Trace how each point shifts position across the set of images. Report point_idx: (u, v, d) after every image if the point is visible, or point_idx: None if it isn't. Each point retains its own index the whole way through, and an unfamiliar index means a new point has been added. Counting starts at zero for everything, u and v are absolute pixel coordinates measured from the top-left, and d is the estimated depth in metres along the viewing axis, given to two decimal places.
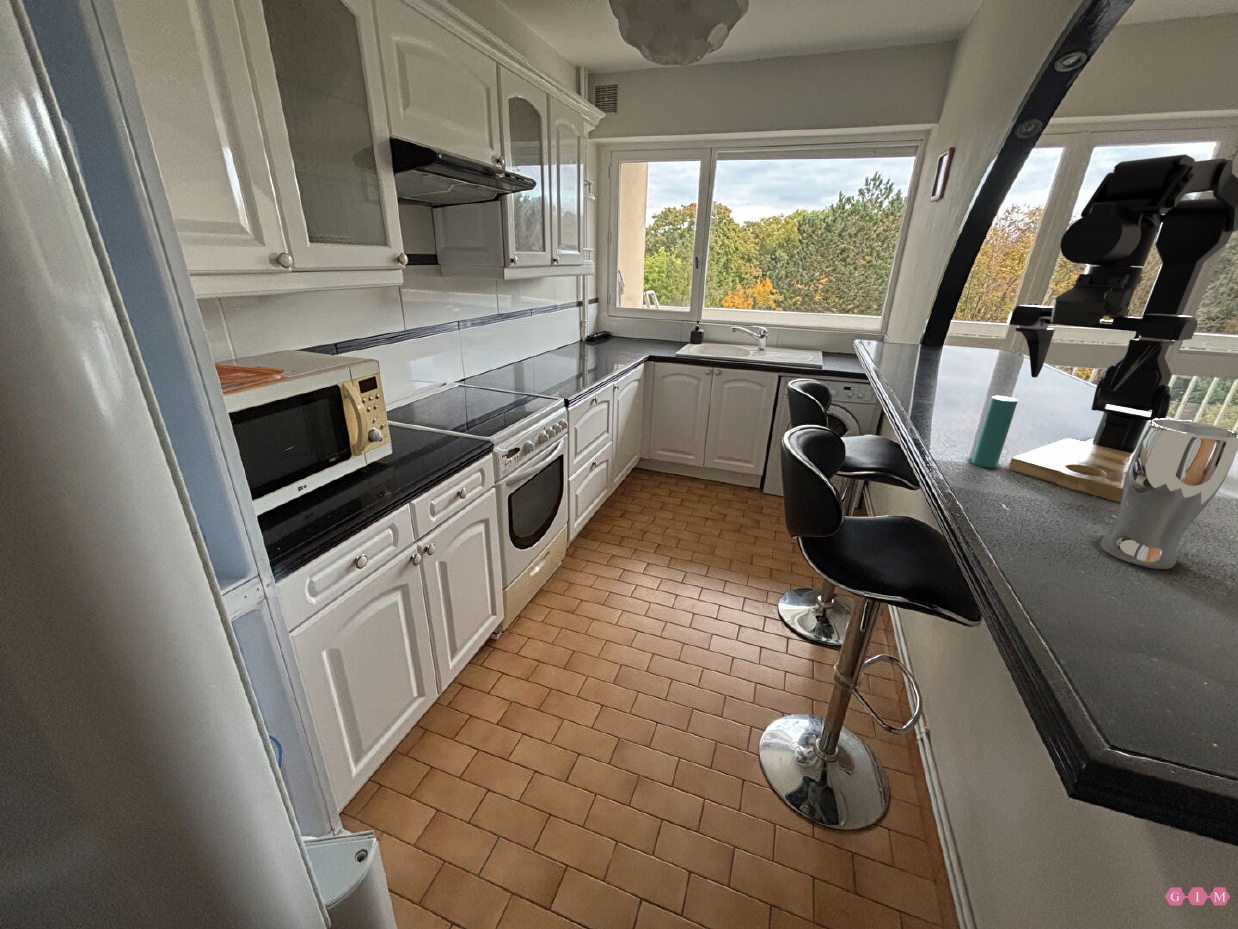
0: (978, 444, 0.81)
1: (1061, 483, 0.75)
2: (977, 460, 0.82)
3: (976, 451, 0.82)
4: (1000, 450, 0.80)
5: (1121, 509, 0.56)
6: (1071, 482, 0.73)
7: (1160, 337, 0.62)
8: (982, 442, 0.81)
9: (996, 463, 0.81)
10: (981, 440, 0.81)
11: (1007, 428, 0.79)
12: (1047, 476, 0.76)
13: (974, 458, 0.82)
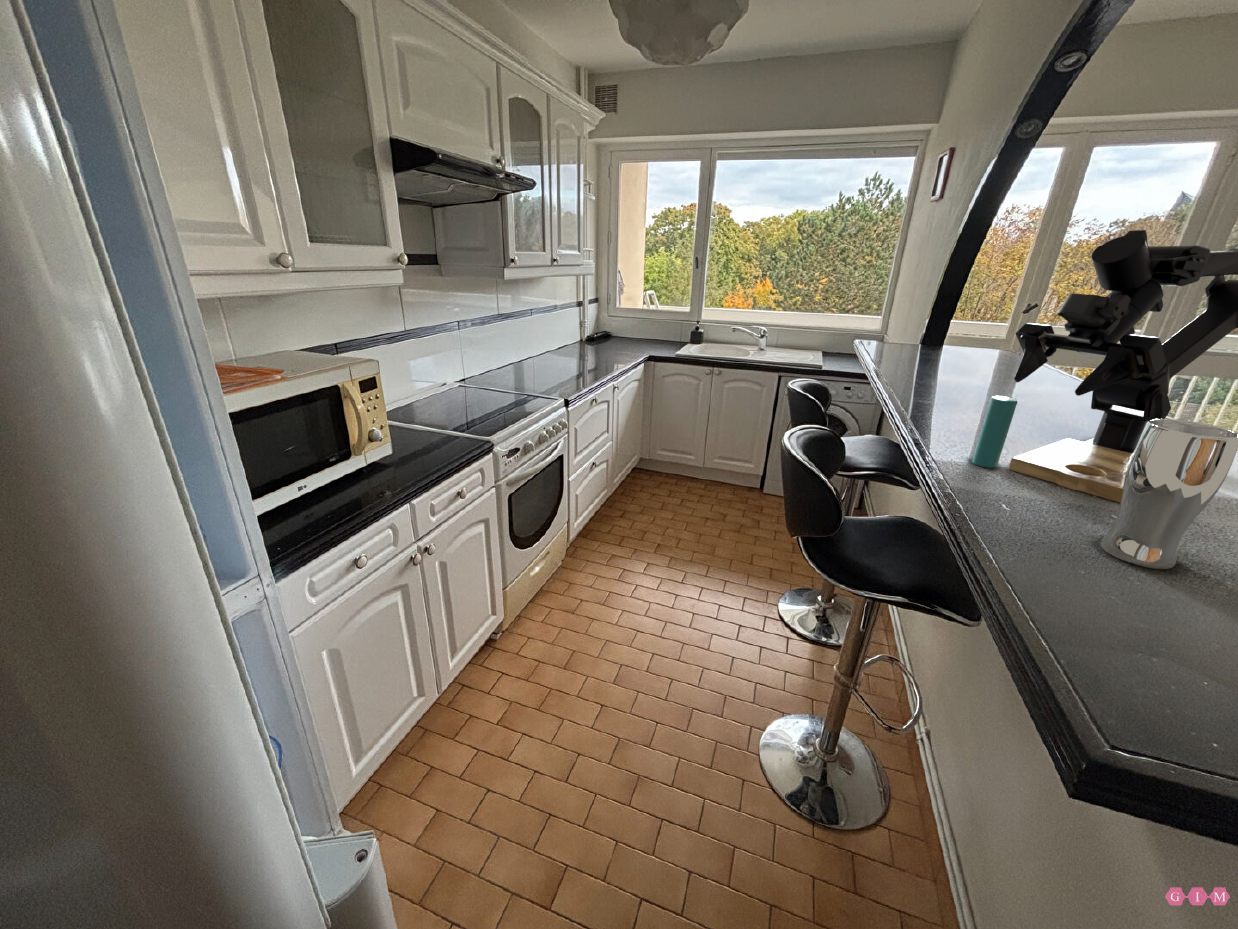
0: (978, 444, 0.81)
1: (1061, 483, 0.75)
2: (977, 460, 0.82)
3: (976, 451, 0.82)
4: (1000, 450, 0.80)
5: (1121, 509, 0.56)
6: (1071, 482, 0.73)
7: (1136, 345, 0.71)
8: (982, 442, 0.81)
9: (996, 463, 0.81)
10: (981, 440, 0.81)
11: (1007, 428, 0.79)
12: (1047, 476, 0.76)
13: (974, 458, 0.82)
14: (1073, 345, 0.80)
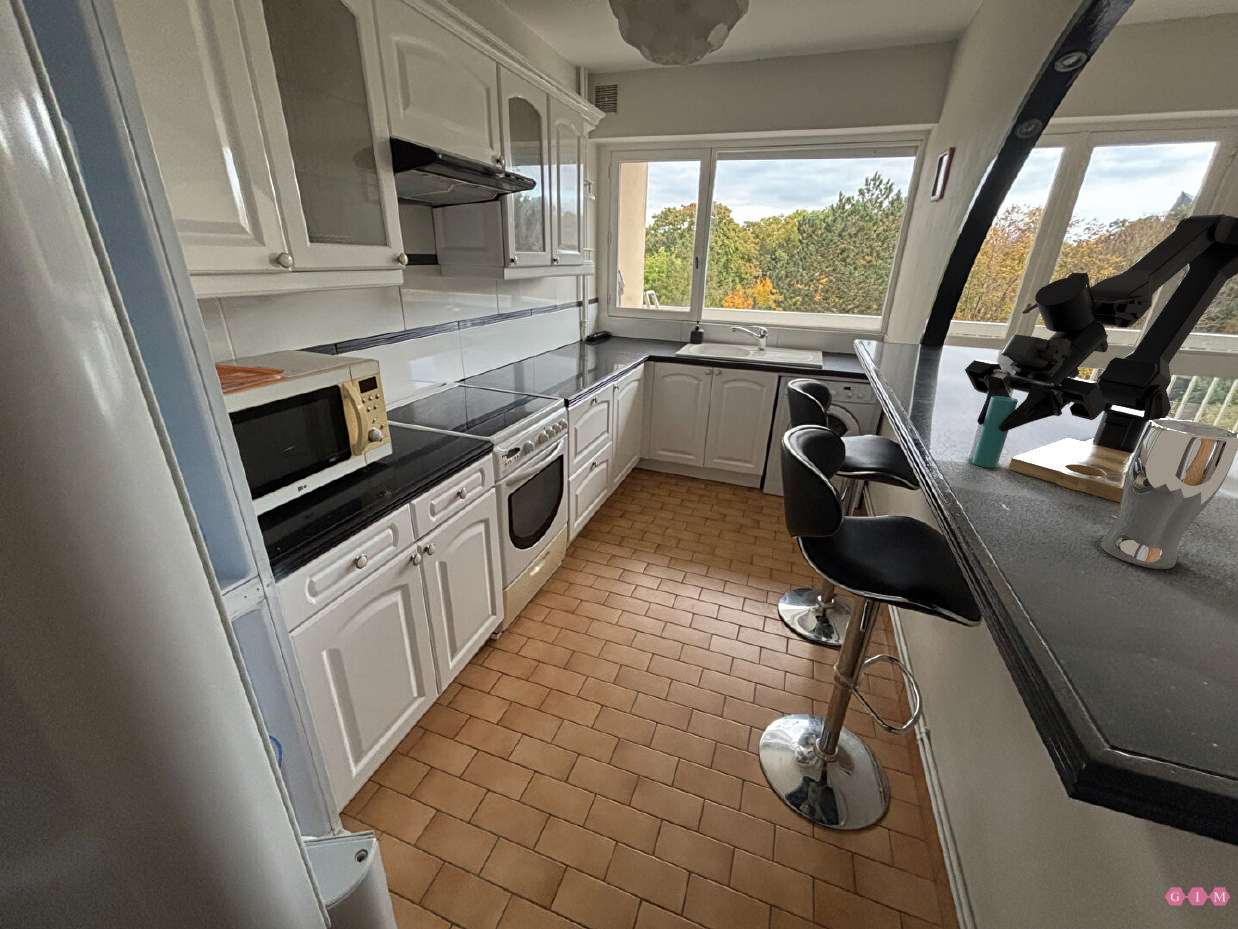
0: (978, 444, 0.81)
1: (1061, 483, 0.75)
2: (977, 460, 0.82)
3: (976, 451, 0.82)
4: (1000, 450, 0.80)
5: (1121, 509, 0.56)
6: (1071, 482, 0.73)
7: (1075, 389, 0.71)
8: (982, 442, 0.81)
9: (996, 463, 0.81)
10: (981, 440, 0.81)
11: None
12: (1047, 476, 0.76)
13: (974, 458, 0.82)
14: (1019, 384, 0.80)
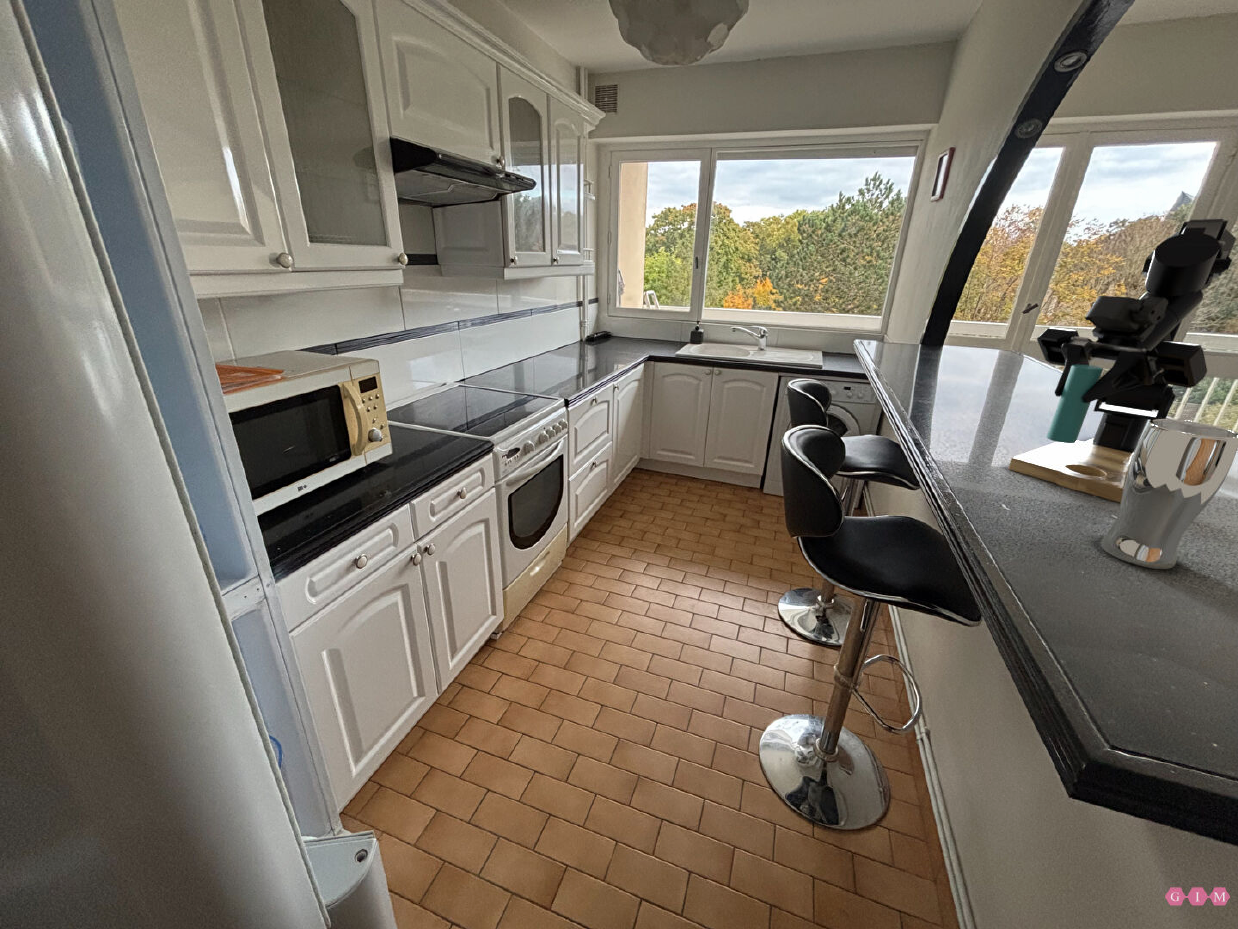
0: (1055, 418, 0.75)
1: (1061, 483, 0.75)
2: (1053, 435, 0.75)
3: (1052, 425, 0.75)
4: (1081, 424, 0.73)
5: (1121, 509, 0.56)
6: (1071, 482, 0.73)
7: (1174, 353, 0.64)
8: (1060, 415, 0.74)
9: (1075, 438, 0.74)
10: (1059, 413, 0.74)
11: None
12: (1047, 476, 0.76)
13: (1050, 433, 0.76)
14: (1101, 352, 0.73)
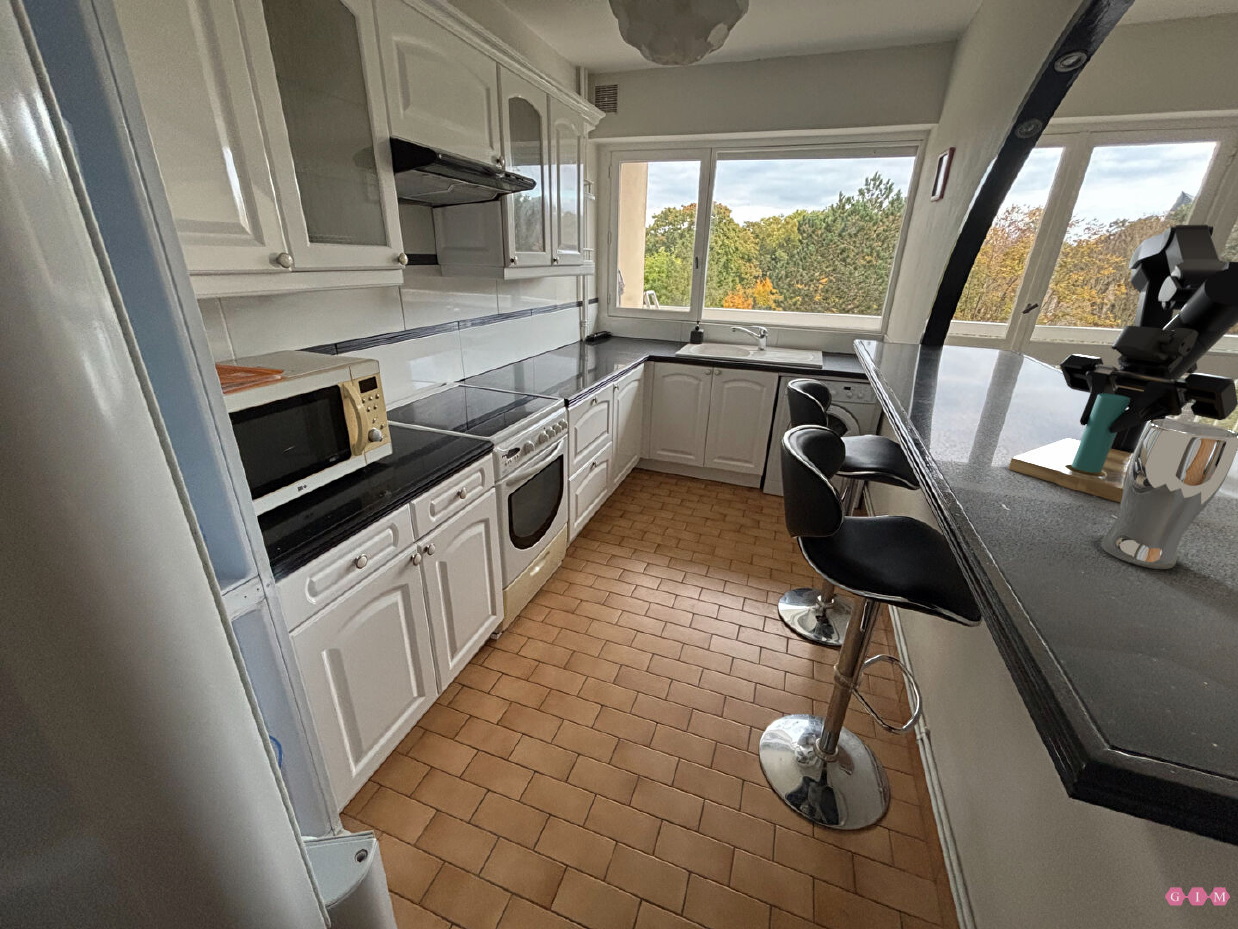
0: (1080, 446, 0.74)
1: (1061, 483, 0.75)
2: (1078, 464, 0.75)
3: (1078, 454, 0.75)
4: (1107, 453, 0.73)
5: (1121, 509, 0.56)
6: (1071, 482, 0.73)
7: (1205, 386, 0.63)
8: (1086, 444, 0.73)
9: (1101, 467, 0.74)
10: (1085, 442, 0.74)
11: None
12: (1047, 476, 0.76)
13: (1075, 462, 0.75)
14: (1127, 381, 0.73)
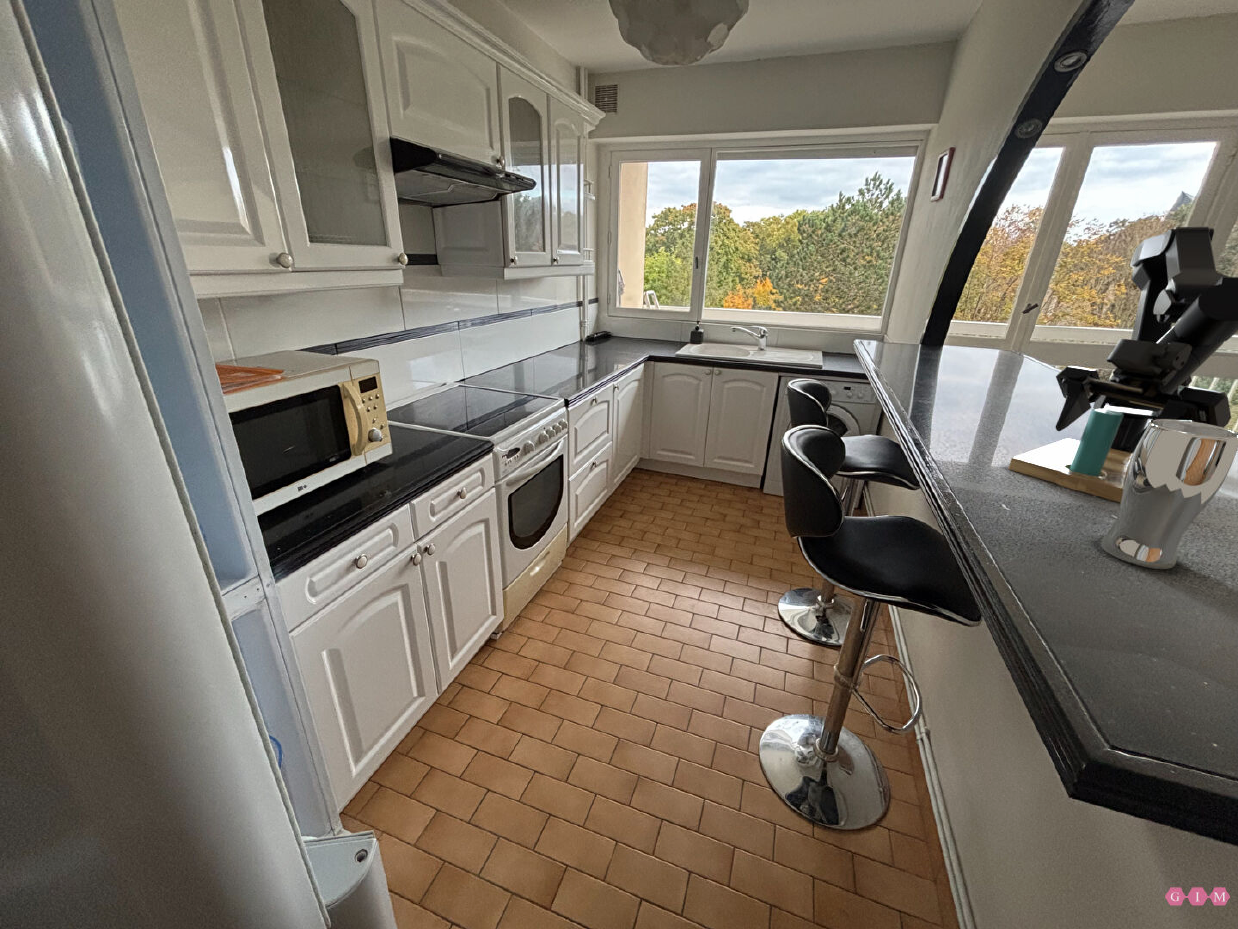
0: (1075, 461, 0.75)
1: (1061, 483, 0.75)
2: None
3: (1072, 468, 0.76)
4: (1101, 468, 0.73)
5: (1121, 509, 0.56)
6: (1071, 482, 0.73)
7: (1199, 400, 0.64)
8: (1080, 459, 0.74)
9: None
10: (1079, 456, 0.74)
11: (1110, 444, 0.72)
12: (1047, 476, 0.76)
13: None
14: (1122, 393, 0.73)
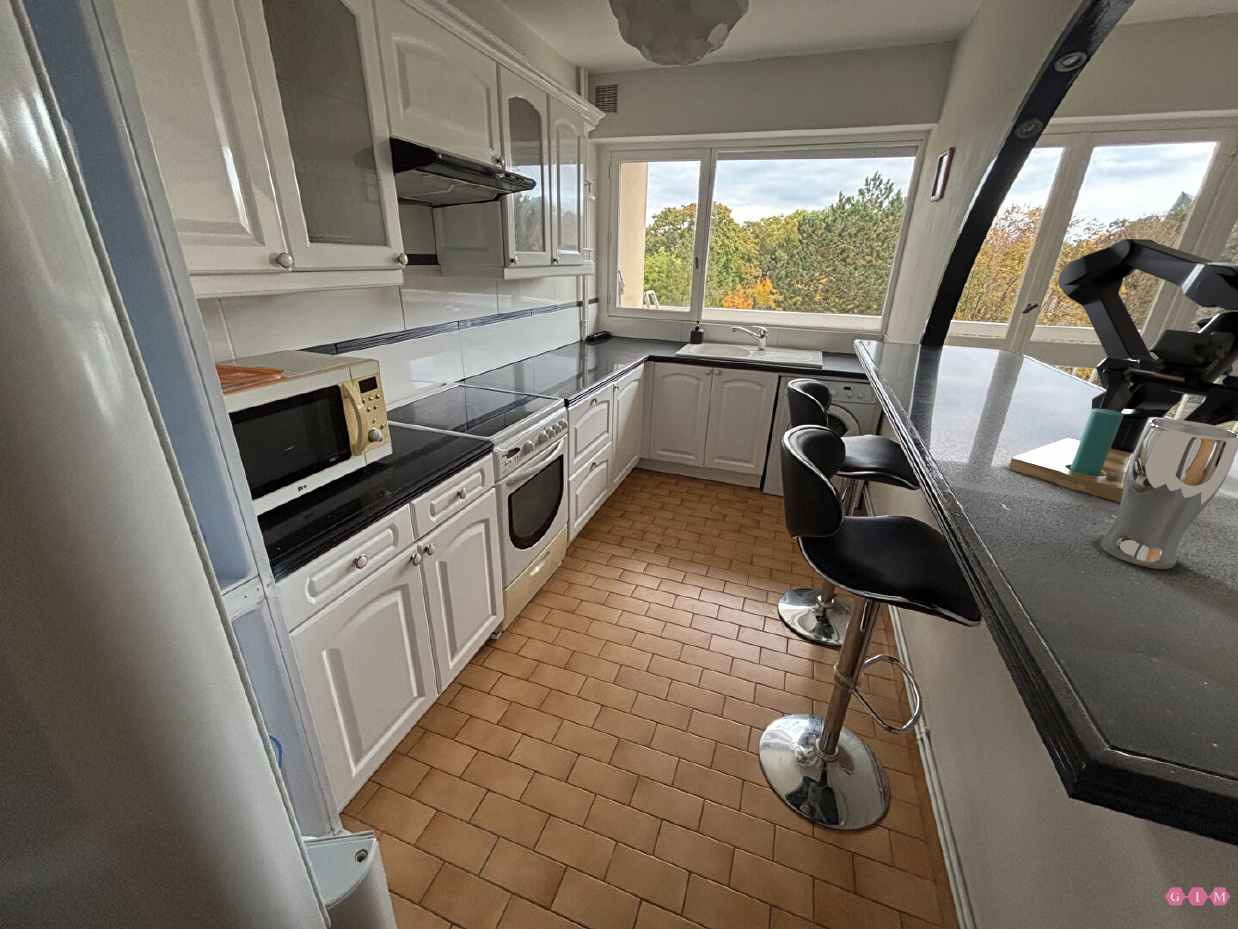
0: (1075, 461, 0.75)
1: (1061, 483, 0.75)
2: None
3: (1072, 468, 0.76)
4: (1101, 468, 0.73)
5: (1121, 509, 0.56)
6: (1071, 482, 0.73)
7: None
8: (1080, 459, 0.74)
9: None
10: (1079, 456, 0.74)
11: (1110, 444, 0.72)
12: (1047, 476, 0.76)
13: None
14: (1164, 383, 0.76)
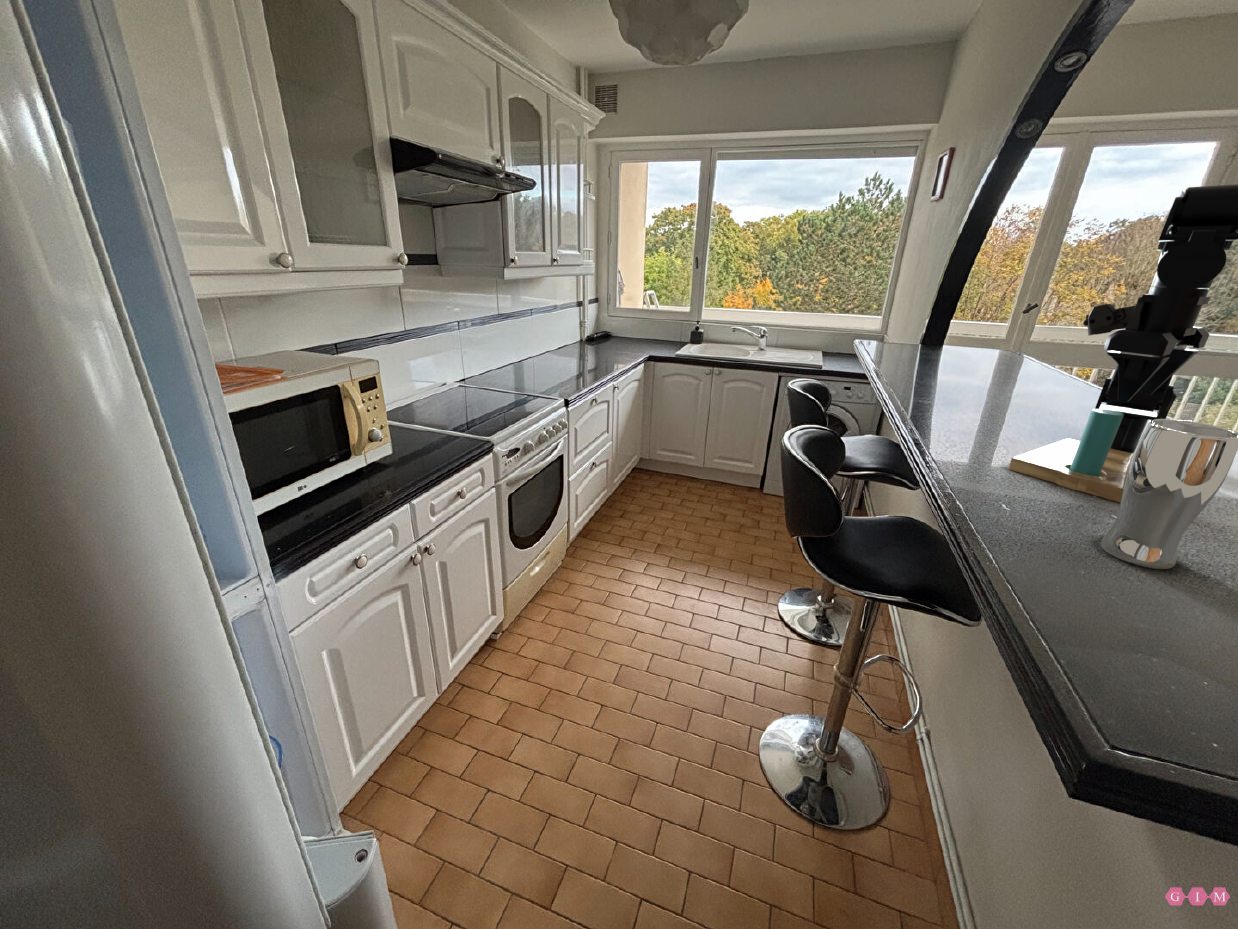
0: (1075, 461, 0.75)
1: (1061, 483, 0.75)
2: None
3: (1072, 468, 0.76)
4: (1101, 468, 0.73)
5: (1121, 509, 0.56)
6: (1071, 482, 0.73)
7: None
8: (1080, 459, 0.74)
9: None
10: (1079, 456, 0.74)
11: (1110, 444, 0.72)
12: (1047, 476, 0.76)
13: None
14: None
